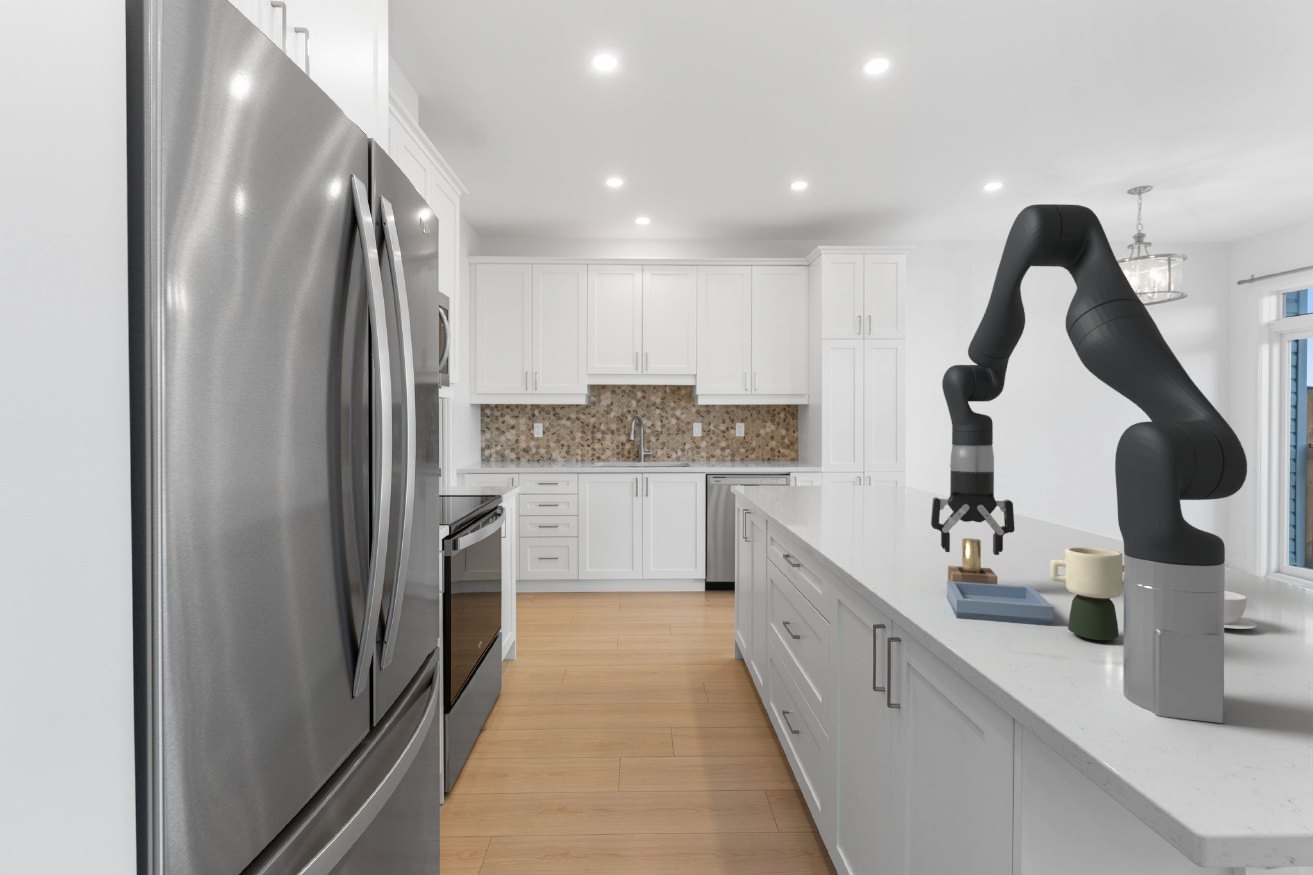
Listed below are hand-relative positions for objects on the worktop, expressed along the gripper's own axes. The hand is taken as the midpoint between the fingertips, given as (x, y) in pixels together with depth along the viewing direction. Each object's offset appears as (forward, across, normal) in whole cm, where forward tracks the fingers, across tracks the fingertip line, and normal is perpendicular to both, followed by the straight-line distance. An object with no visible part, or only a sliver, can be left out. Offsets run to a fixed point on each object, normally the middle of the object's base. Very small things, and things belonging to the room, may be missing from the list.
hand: (971, 552), depth 124 cm
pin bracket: (+8, 0, 0) cm, 8 cm away
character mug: (+7, +13, -25) cm, 29 cm away
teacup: (+8, +35, -9) cm, 37 cm away
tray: (+7, +2, -13) cm, 15 cm away
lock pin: (+7, 0, 0) cm, 7 cm away
